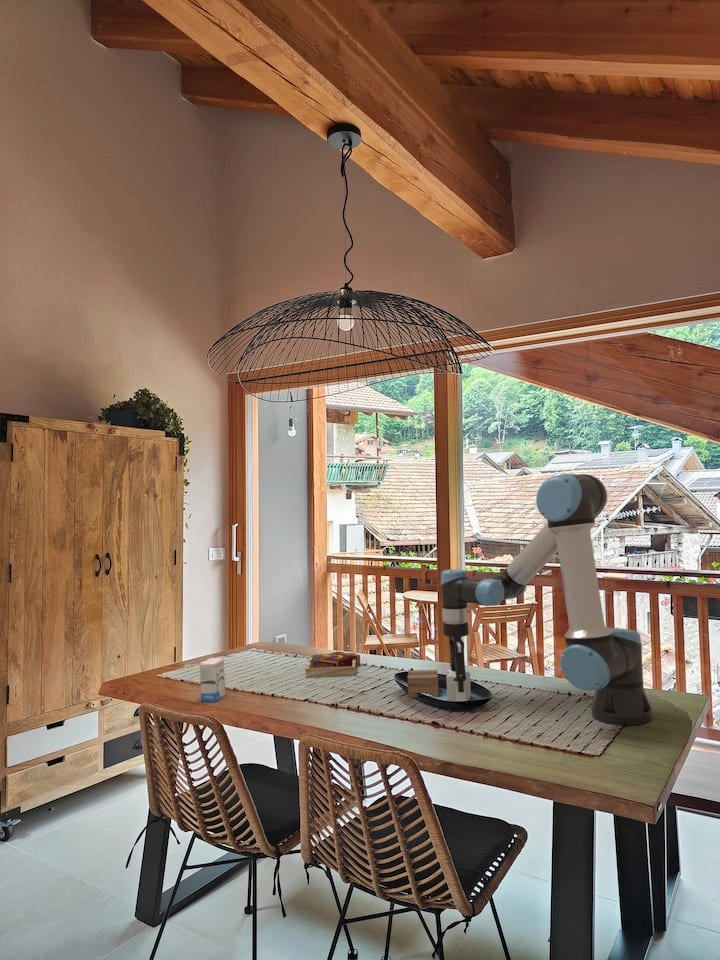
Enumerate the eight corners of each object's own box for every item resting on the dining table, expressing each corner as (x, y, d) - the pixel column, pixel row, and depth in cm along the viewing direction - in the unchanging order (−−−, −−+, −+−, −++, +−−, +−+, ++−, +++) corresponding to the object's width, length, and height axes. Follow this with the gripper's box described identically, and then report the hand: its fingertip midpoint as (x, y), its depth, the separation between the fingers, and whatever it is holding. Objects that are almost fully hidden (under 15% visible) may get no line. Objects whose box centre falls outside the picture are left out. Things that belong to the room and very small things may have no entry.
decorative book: (361, 666, 252) (360, 652, 252) (333, 676, 239) (332, 662, 239) (336, 663, 259) (336, 649, 259) (308, 673, 246) (308, 659, 246)
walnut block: (438, 697, 209) (437, 677, 209) (408, 697, 210) (407, 677, 210) (438, 689, 217) (437, 669, 218) (409, 689, 219) (408, 670, 219)
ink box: (215, 702, 213) (213, 663, 214) (200, 702, 214) (198, 663, 215) (226, 694, 222) (224, 657, 222) (211, 694, 223) (210, 657, 223)
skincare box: (451, 695, 209) (450, 671, 210) (471, 696, 207) (470, 671, 208) (447, 701, 204) (445, 676, 204) (467, 702, 202) (466, 677, 202)
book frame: (355, 675, 238) (354, 666, 238) (306, 677, 238) (305, 669, 238) (356, 660, 260) (355, 652, 260) (311, 662, 260) (310, 654, 260)
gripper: (473, 628, 195) (477, 708, 195) (463, 615, 217) (466, 687, 216) (447, 629, 195) (450, 709, 195) (439, 616, 217) (442, 688, 216)
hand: (458, 697), depth 206 cm, fingers open, 9 cm apart
